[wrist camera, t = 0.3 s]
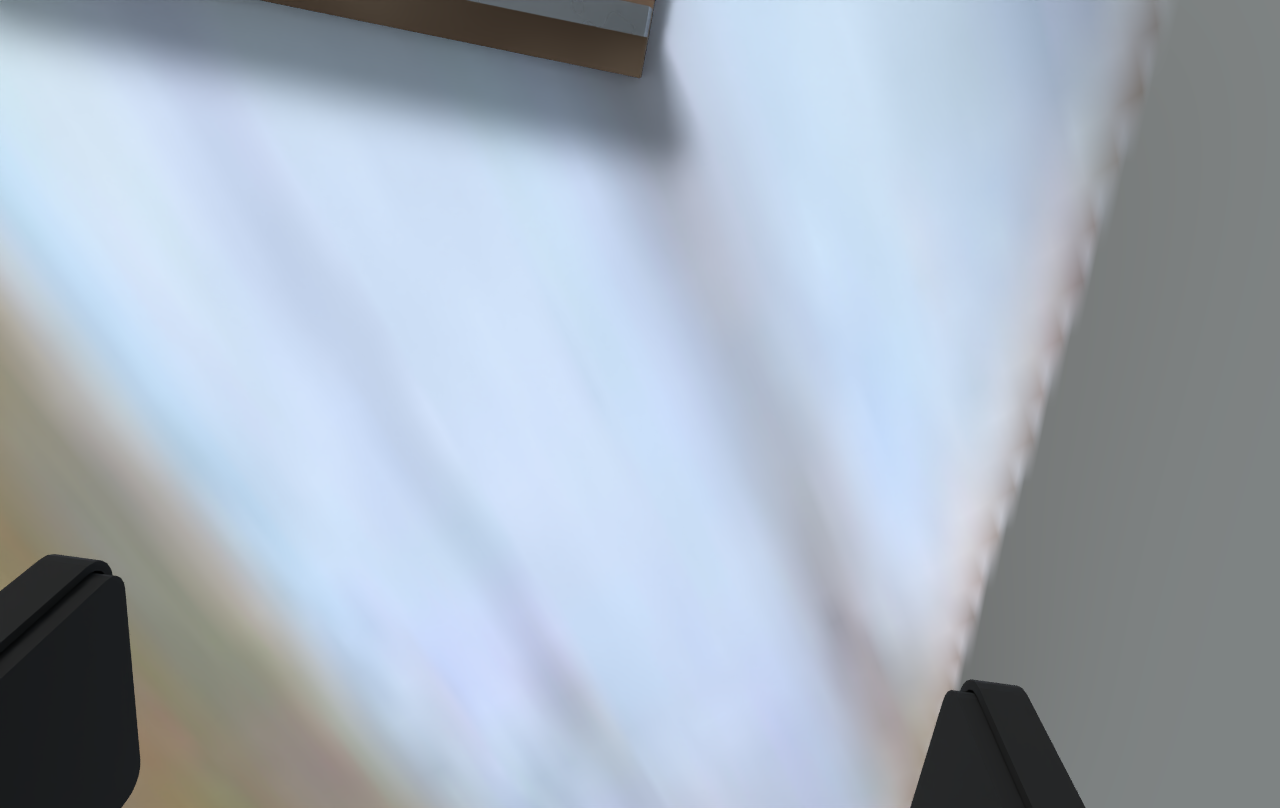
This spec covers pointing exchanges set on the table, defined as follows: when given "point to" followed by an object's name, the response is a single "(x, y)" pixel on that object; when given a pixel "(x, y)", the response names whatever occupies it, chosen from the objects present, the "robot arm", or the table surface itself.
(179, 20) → the table surface
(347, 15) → the track
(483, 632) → the table surface
